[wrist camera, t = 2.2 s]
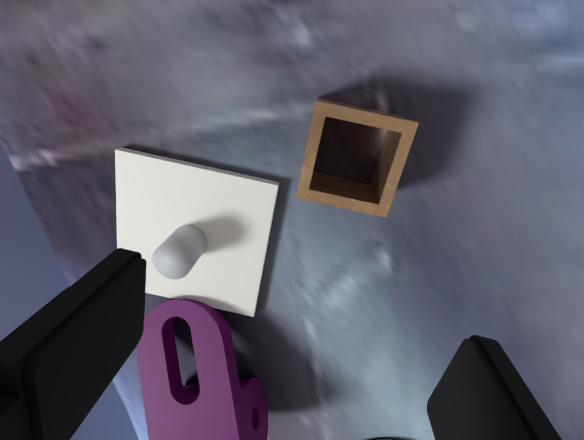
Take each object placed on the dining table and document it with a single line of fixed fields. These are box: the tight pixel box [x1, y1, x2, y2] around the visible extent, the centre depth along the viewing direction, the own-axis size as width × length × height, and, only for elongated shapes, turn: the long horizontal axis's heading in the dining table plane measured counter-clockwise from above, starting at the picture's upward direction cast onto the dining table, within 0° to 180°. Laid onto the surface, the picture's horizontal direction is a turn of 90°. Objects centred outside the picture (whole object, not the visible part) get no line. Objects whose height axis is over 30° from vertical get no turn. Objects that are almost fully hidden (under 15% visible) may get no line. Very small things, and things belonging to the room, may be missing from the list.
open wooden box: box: [295, 98, 419, 218], centre depth 24 cm, size 7×7×5 cm
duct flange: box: [115, 148, 280, 317], centre depth 29 cm, size 14×14×5 cm
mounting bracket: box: [136, 298, 268, 440], centre depth 36 cm, size 10×8×18 cm
